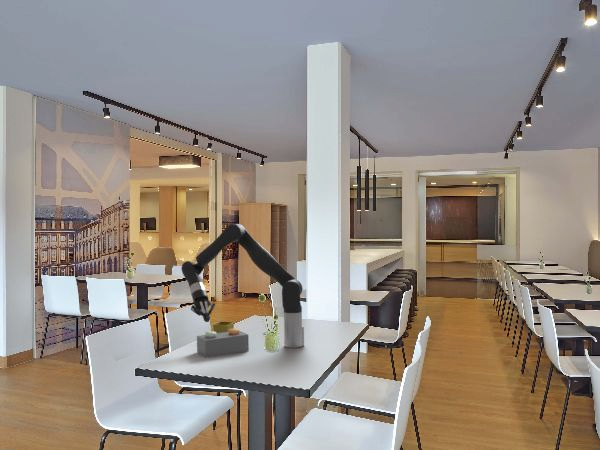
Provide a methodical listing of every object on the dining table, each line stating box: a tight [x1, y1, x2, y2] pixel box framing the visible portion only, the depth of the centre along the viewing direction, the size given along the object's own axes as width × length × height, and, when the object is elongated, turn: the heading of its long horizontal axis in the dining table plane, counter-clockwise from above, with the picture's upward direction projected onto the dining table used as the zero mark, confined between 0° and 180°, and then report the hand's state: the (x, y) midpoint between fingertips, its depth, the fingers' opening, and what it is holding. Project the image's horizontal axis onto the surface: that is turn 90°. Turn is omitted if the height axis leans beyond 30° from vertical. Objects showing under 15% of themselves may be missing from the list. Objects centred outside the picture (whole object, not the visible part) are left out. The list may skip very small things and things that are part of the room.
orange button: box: [229, 327, 240, 335], centre depth 237 cm, size 5×5×4 cm
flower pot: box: [212, 321, 235, 333], centre depth 260 cm, size 9×9×9 cm
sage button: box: [204, 330, 216, 338], centre depth 231 cm, size 5×5×4 cm
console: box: [196, 330, 250, 359], centre depth 234 cm, size 22×12×8 cm, turn 121°
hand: (207, 320), depth 234 cm, fingers closed
